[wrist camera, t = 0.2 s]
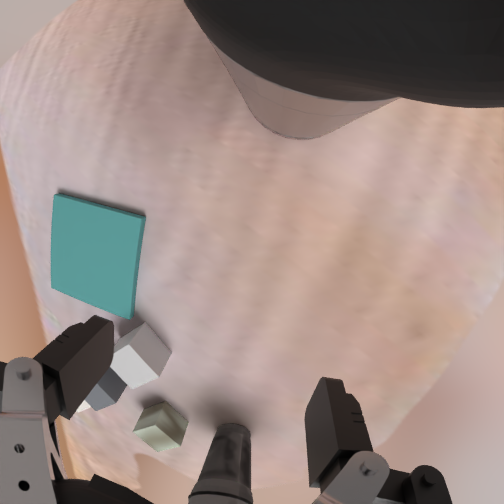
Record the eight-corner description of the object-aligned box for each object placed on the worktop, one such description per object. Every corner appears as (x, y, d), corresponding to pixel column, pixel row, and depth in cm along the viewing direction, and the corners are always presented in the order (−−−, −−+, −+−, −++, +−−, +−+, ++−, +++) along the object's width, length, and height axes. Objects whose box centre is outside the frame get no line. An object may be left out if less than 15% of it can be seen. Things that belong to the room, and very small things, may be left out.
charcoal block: (92, 356, 33) (69, 383, 28) (111, 344, 32) (87, 373, 26) (115, 381, 34) (95, 411, 28) (135, 371, 33) (116, 403, 27)
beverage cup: (197, 419, 35) (157, 552, 16) (250, 413, 33) (230, 561, 14) (219, 450, 36) (193, 569, 17) (267, 445, 35) (257, 573, 16)
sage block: (144, 408, 35) (132, 431, 31) (165, 400, 34) (155, 425, 30) (166, 428, 36) (157, 451, 32) (188, 421, 35) (180, 446, 31)
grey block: (121, 337, 32) (103, 359, 27) (145, 321, 31) (128, 344, 26) (146, 365, 33) (132, 389, 28) (172, 352, 32) (159, 377, 27)
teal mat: (59, 193, 27) (53, 194, 26) (145, 216, 27) (141, 219, 26) (56, 284, 30) (51, 287, 30) (133, 315, 30) (129, 319, 30)
